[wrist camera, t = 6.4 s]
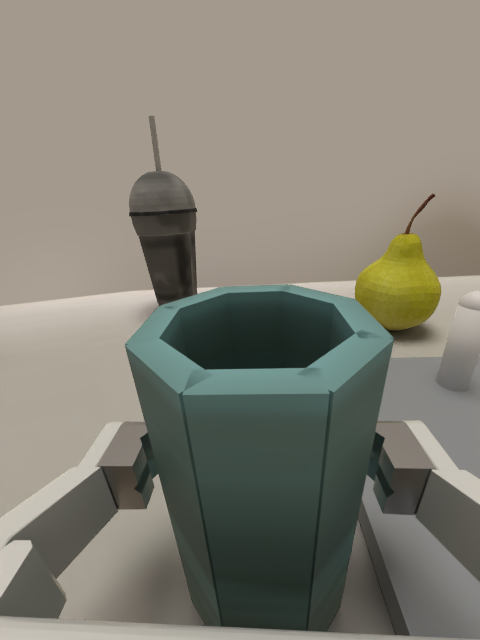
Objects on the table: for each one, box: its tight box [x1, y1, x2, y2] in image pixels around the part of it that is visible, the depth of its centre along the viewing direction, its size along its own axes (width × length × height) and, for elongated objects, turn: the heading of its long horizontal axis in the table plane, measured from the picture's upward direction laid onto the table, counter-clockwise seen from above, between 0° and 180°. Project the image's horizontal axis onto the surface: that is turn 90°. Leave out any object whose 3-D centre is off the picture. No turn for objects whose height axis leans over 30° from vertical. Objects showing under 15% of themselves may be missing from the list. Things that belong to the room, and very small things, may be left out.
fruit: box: [355, 194, 441, 330], centre depth 25 cm, size 7×7×12 cm
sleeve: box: [125, 284, 394, 632], centre depth 8 cm, size 5×5×10 cm
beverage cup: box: [129, 116, 197, 306], centre depth 30 cm, size 7×7×20 cm
